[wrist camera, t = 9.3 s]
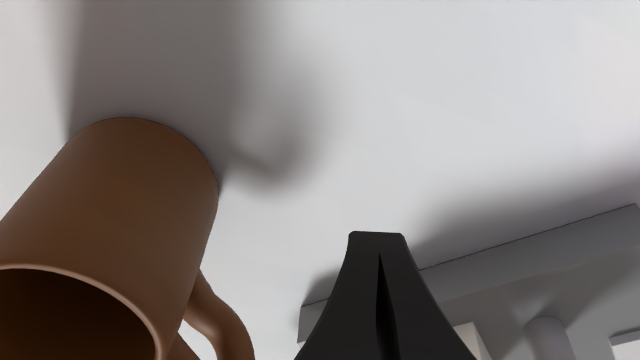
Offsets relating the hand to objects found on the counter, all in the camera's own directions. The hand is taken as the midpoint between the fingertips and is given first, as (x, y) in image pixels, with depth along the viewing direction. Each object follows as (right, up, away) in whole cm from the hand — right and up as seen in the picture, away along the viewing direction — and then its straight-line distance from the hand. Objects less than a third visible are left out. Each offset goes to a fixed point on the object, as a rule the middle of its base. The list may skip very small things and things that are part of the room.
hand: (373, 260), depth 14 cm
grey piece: (+8, -6, +16) cm, 19 cm away
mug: (-8, +1, +13) cm, 15 cm away
